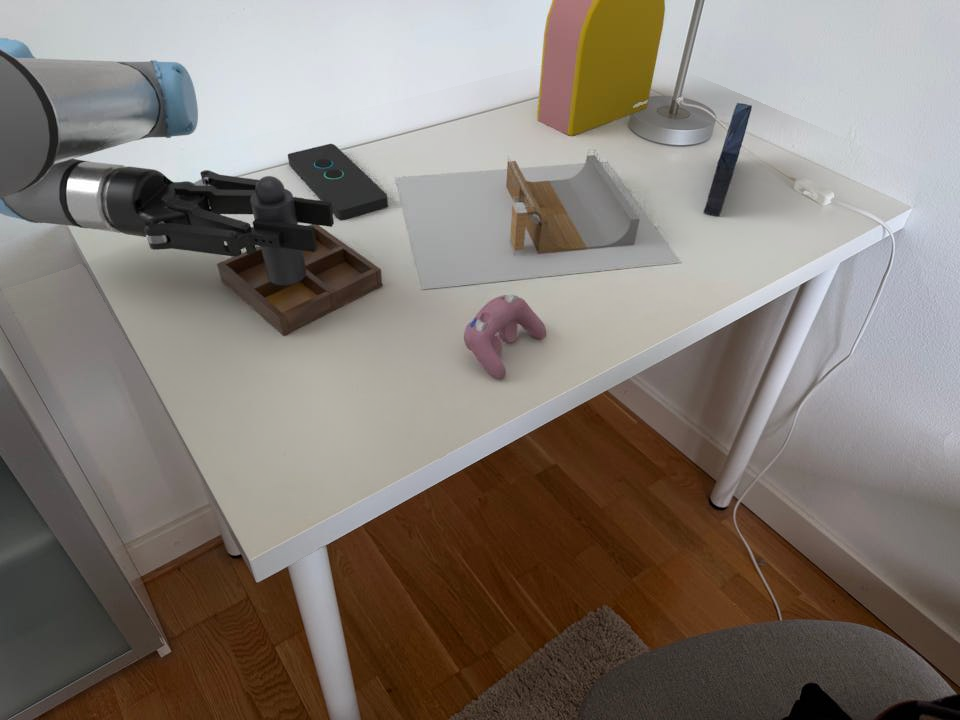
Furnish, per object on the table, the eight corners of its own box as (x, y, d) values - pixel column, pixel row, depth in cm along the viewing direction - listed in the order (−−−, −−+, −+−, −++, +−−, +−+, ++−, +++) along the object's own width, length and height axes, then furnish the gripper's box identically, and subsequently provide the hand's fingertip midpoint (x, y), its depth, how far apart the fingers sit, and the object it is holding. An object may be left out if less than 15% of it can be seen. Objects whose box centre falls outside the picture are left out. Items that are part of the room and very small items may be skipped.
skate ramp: (681, 262, 92) (694, 213, 87) (422, 289, 86) (420, 238, 81) (607, 161, 113) (614, 116, 108) (395, 177, 107) (392, 131, 102)
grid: (283, 336, 79) (279, 318, 77) (221, 280, 87) (216, 263, 85) (382, 286, 87) (381, 269, 85) (317, 238, 94) (315, 222, 92)
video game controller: (521, 334, 83) (502, 283, 80) (551, 335, 80) (533, 281, 77) (473, 380, 77) (450, 326, 74) (504, 383, 74) (481, 327, 71)
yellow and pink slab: (612, 91, 135) (637, -63, 117) (648, 107, 130) (680, -53, 112) (535, 118, 124) (548, -46, 106) (571, 136, 119) (591, -34, 101)
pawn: (280, 290, 78) (259, 192, 69) (260, 273, 80) (237, 176, 71) (313, 275, 80) (297, 178, 71) (292, 258, 82) (274, 163, 74)
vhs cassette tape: (719, 217, 101) (739, 154, 94) (699, 213, 102) (717, 150, 95) (737, 164, 113) (755, 105, 106) (719, 161, 114) (736, 101, 107)
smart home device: (333, 141, 112) (390, 195, 100) (334, 151, 113) (390, 206, 101) (284, 153, 108) (337, 210, 96) (286, 163, 110) (338, 221, 97)
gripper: (174, 192, 86) (353, 215, 83) (90, 272, 73) (297, 303, 70) (156, 134, 81) (346, 157, 78) (63, 210, 68) (285, 241, 65)
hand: (322, 226), depth 74 cm, fingers closed on pawn, 4 cm apart
